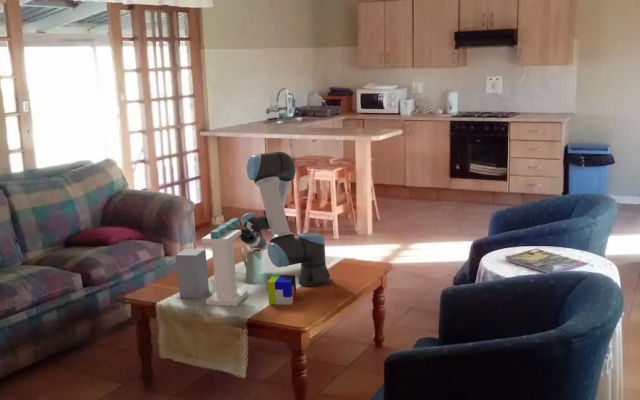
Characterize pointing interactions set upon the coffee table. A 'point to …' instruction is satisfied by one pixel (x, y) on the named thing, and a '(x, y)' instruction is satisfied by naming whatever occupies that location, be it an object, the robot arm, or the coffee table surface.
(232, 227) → the teal bar
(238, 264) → the coffee table surface
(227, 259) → the off-white stand
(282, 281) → the puzzle toy
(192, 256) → the slate block
